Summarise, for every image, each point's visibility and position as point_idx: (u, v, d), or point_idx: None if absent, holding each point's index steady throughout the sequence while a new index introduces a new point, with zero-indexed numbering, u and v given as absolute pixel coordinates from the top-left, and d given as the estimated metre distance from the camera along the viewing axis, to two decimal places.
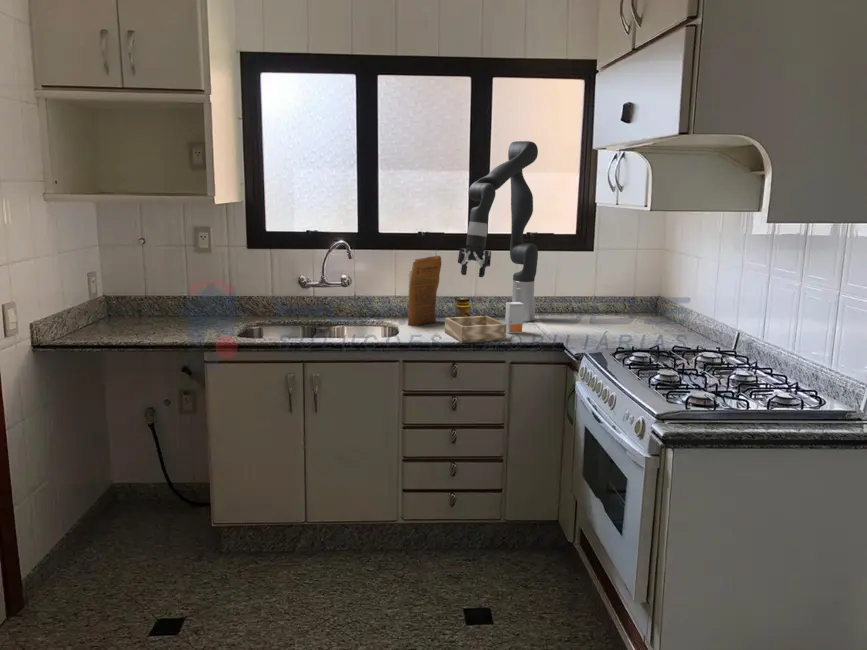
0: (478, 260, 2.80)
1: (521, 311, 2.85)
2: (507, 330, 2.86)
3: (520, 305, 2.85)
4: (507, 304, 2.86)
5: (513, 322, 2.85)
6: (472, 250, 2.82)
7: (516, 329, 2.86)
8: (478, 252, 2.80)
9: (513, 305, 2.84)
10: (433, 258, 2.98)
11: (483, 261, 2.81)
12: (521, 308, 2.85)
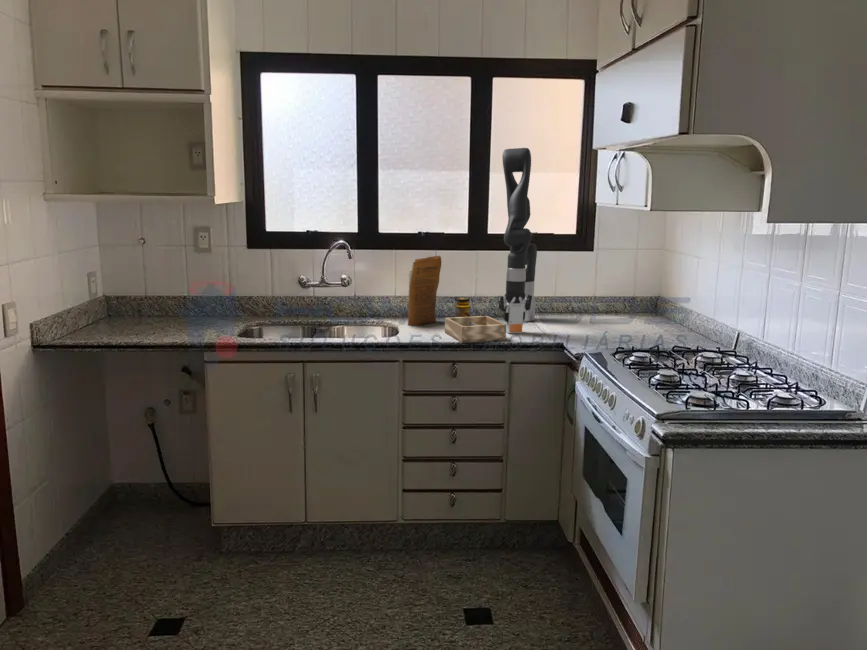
0: None
1: (521, 311, 2.85)
2: (507, 330, 2.86)
3: (520, 305, 2.85)
4: None
5: (513, 322, 2.85)
6: (515, 295, 2.84)
7: (516, 329, 2.86)
8: (522, 297, 2.85)
9: (513, 305, 2.84)
10: (433, 258, 2.98)
11: None
12: (521, 308, 2.85)
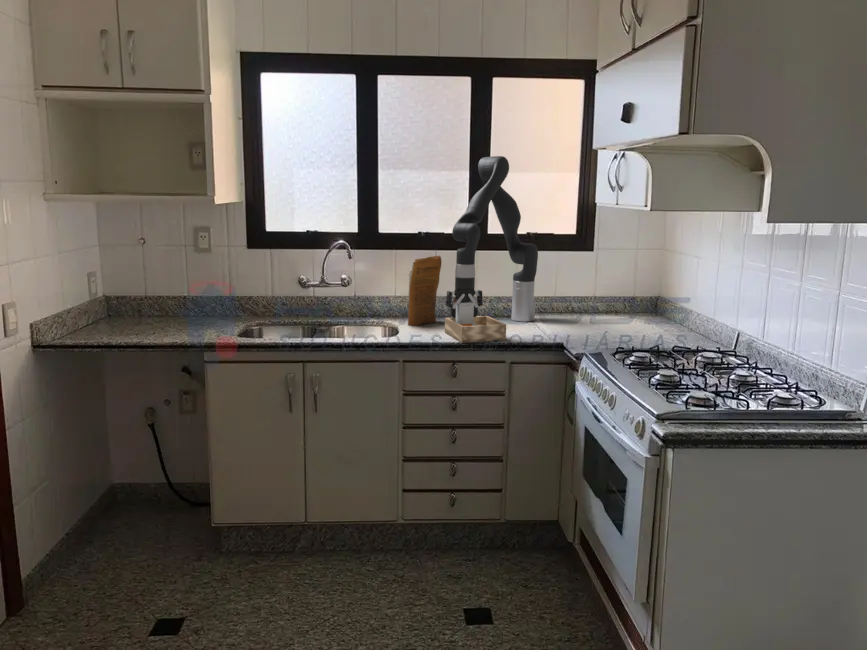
0: (474, 301, 2.78)
1: (471, 310, 2.78)
2: None
3: (470, 304, 2.77)
4: None
5: (463, 322, 2.78)
6: (464, 292, 2.77)
7: None
8: (471, 293, 2.78)
9: (463, 304, 2.77)
10: (433, 258, 2.98)
11: None
12: (471, 307, 2.78)
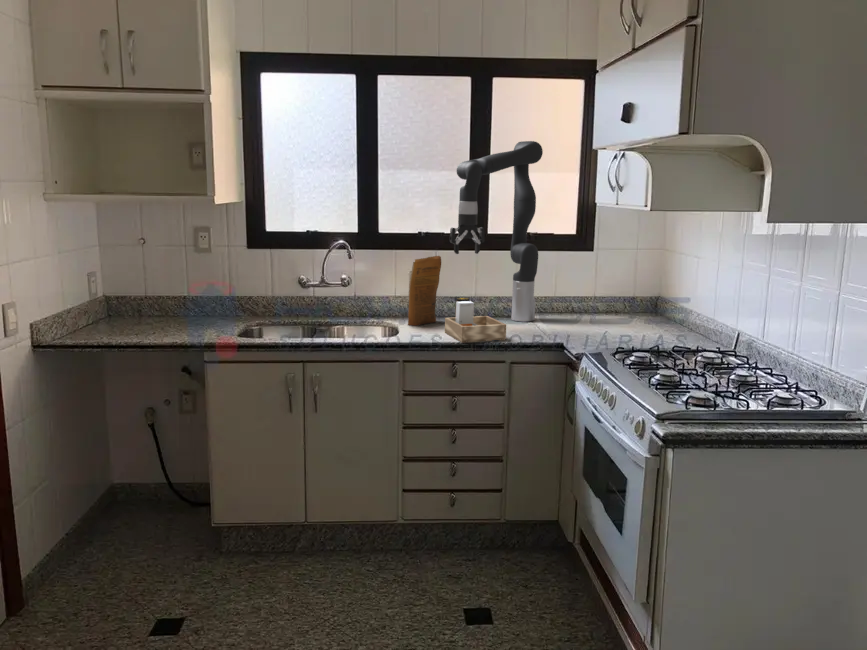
0: (476, 238, 2.90)
1: (471, 310, 2.78)
2: None
3: (470, 304, 2.77)
4: (457, 303, 2.79)
5: (463, 322, 2.78)
6: (467, 229, 2.88)
7: None
8: (474, 230, 2.89)
9: (463, 304, 2.77)
10: (433, 258, 2.98)
11: None
12: (471, 307, 2.78)
